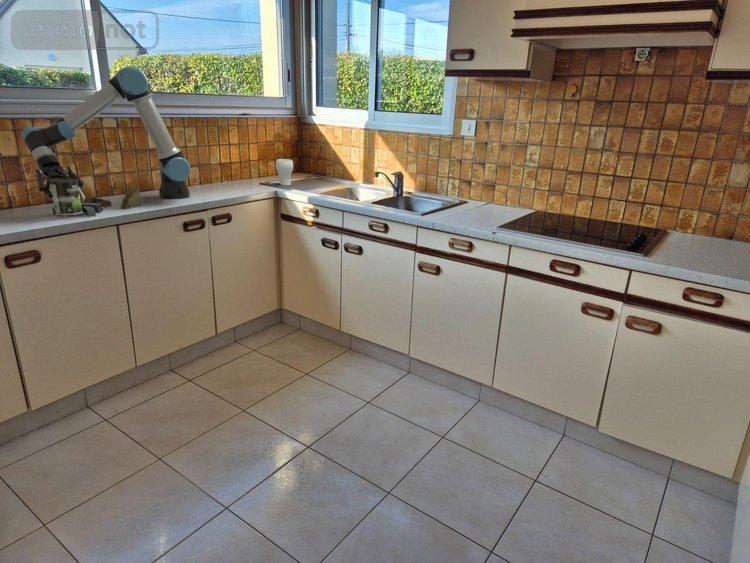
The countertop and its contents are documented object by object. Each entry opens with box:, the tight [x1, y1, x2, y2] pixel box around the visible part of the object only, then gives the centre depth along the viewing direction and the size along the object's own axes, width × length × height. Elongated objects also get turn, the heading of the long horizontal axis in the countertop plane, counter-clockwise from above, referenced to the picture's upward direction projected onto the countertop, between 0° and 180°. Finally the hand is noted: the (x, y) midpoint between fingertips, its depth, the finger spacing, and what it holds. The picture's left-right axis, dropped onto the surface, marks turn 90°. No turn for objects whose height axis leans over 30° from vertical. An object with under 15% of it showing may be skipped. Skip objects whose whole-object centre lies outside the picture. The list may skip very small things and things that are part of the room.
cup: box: [275, 158, 294, 186], centre depth 309 cm, size 11×11×15 cm
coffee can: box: [49, 178, 84, 216], centre depth 212 cm, size 10×10×14 cm
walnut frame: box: [81, 196, 112, 208], centre depth 234 cm, size 14×14×2 cm
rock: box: [120, 185, 142, 210], centre depth 234 cm, size 11×9×10 cm
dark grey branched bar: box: [51, 203, 104, 218], centre depth 220 cm, size 11×20×4 cm, turn 85°
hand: (70, 201), depth 211 cm, fingers closed on coffee can, 10 cm apart
